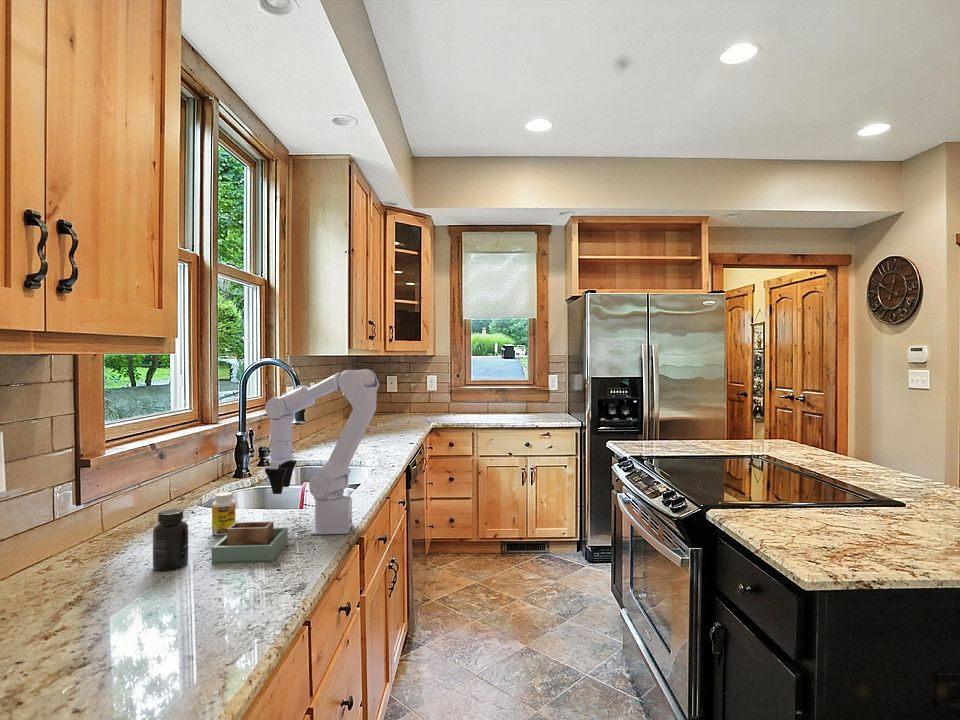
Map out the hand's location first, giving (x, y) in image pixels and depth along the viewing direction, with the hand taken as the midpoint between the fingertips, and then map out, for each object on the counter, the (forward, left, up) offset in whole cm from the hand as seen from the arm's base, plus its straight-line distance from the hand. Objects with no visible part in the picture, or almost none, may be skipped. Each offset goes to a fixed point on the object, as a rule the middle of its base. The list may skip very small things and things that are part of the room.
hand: (281, 490), depth 148 cm
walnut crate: (+1, +21, -9) cm, 23 cm away
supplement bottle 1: (+16, +28, -10) cm, 34 cm away
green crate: (+1, +21, -10) cm, 23 cm away
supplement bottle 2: (+13, +6, -10) cm, 17 cm away
